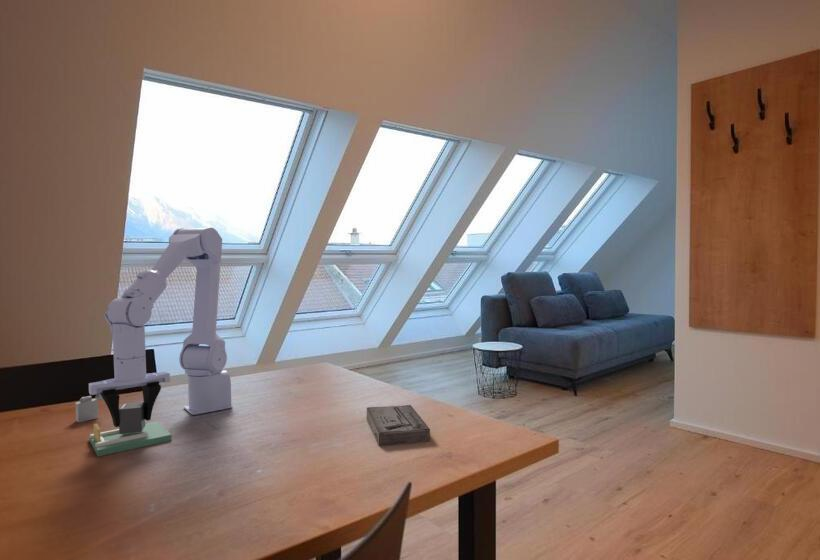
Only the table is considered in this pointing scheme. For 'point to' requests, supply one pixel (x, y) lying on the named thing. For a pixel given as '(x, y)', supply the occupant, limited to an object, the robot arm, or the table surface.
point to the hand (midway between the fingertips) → (132, 422)
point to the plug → (132, 418)
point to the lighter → (87, 408)
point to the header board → (127, 438)
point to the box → (397, 425)
